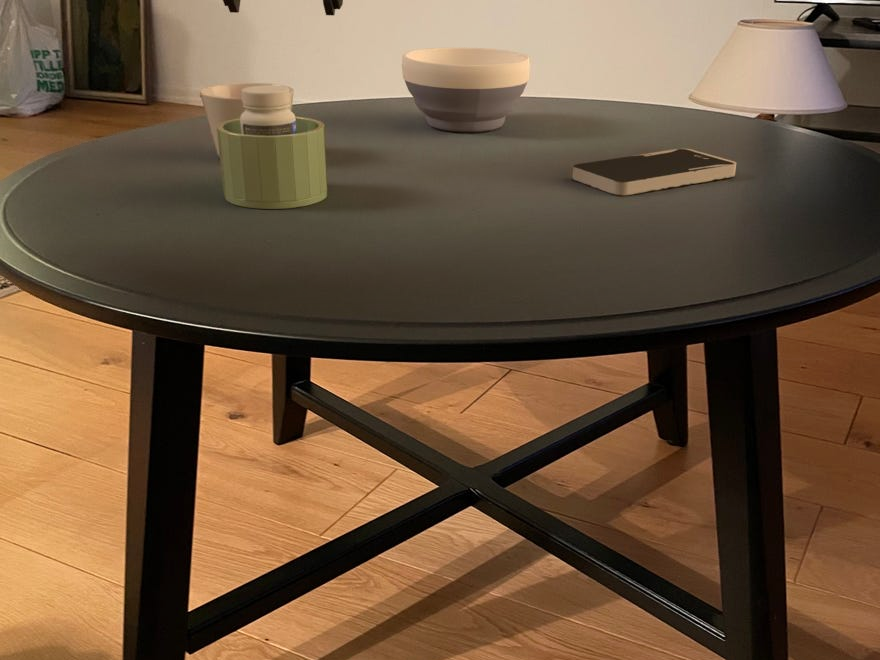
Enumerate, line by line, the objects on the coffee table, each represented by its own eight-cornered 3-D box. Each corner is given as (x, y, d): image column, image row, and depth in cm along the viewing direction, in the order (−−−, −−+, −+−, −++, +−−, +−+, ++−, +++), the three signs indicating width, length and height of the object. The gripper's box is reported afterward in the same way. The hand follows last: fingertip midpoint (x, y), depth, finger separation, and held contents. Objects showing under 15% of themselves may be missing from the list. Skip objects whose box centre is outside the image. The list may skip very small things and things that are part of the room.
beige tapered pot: (196, 151, 105) (188, 86, 102) (279, 143, 109) (275, 80, 106) (222, 170, 99) (215, 101, 95) (310, 161, 102) (307, 94, 99)
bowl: (381, 131, 115) (379, 59, 112) (431, 109, 127) (431, 44, 124) (503, 143, 111) (505, 69, 107) (543, 120, 123) (546, 52, 119)
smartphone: (569, 165, 98) (685, 147, 105) (568, 179, 98) (684, 161, 106) (621, 183, 92) (740, 163, 99) (620, 197, 93) (738, 177, 100)
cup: (281, 215, 86) (275, 141, 83) (202, 198, 90) (194, 127, 87) (348, 192, 92) (345, 123, 89) (272, 177, 96) (267, 111, 93)
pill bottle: (309, 191, 90) (302, 90, 86) (258, 197, 88) (249, 95, 84) (288, 179, 94) (281, 82, 90) (238, 185, 91) (229, 86, 87)
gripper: (209, -179, 91) (186, -26, 86) (370, -176, 90) (355, -22, 86) (231, -110, 98) (211, 34, 93) (379, -107, 97) (366, 38, 93)
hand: (280, 7), depth 90 cm, fingers open, 8 cm apart
